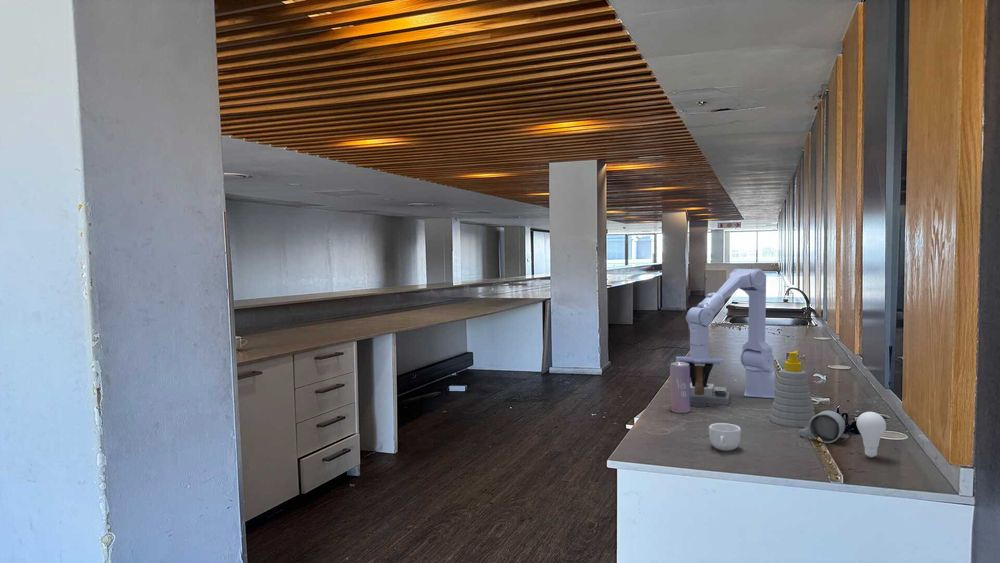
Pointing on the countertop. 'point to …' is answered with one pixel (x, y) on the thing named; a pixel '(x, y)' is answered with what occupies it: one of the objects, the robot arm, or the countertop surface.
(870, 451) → the lightbulb
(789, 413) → the soap bottle
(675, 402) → the beverage can
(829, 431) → the ceramic mug
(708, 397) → the grey fixture with socket
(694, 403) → the coaster
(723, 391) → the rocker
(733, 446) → the teacup
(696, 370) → the dowel
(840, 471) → the countertop surface
